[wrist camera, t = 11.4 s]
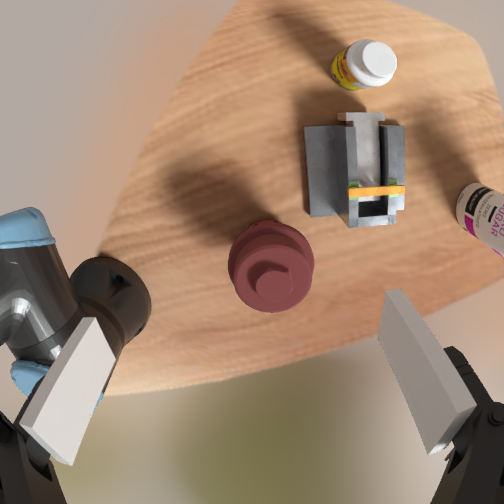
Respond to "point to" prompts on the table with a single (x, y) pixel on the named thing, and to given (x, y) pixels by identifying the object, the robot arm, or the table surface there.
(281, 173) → the table surface
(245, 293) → the mechanical component
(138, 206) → the table surface
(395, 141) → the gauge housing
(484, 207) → the supplement can
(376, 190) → the plunger
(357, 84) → the supplement bottle
